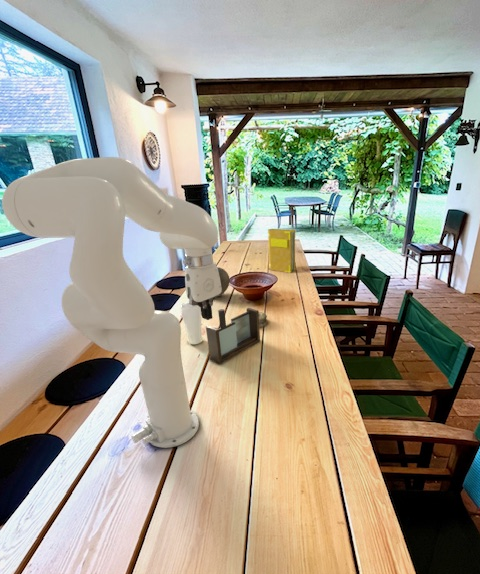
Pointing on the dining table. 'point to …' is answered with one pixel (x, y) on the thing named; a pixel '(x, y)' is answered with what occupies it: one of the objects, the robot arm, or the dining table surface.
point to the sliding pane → (226, 334)
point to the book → (281, 250)
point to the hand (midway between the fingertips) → (207, 318)
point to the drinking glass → (192, 322)
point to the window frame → (244, 332)
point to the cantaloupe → (223, 280)
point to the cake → (262, 319)
